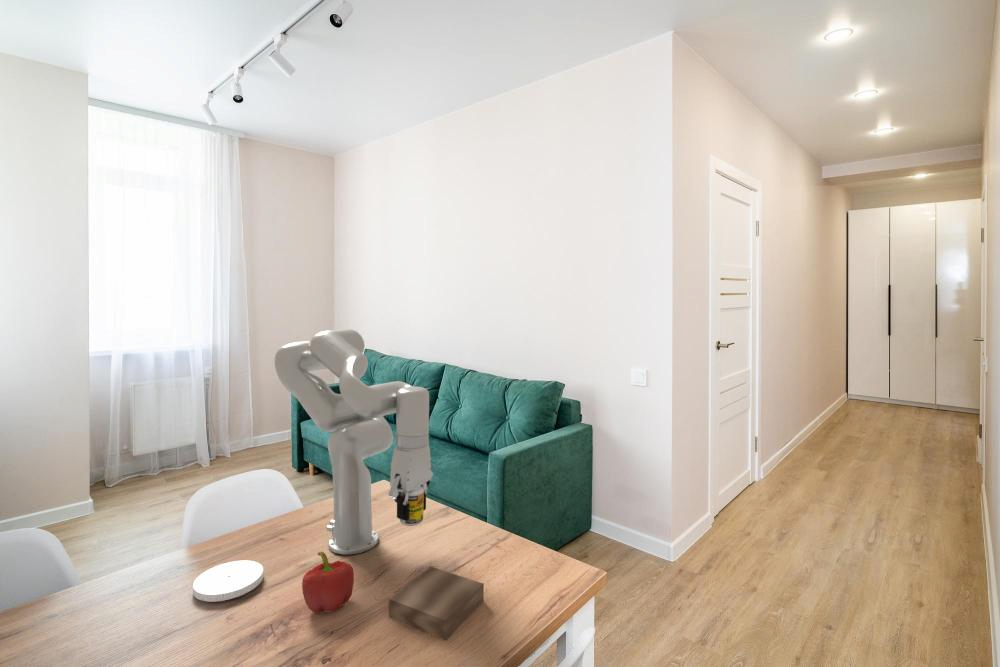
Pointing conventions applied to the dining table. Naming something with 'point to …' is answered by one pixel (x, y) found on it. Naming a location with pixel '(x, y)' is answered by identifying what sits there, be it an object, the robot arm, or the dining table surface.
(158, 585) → the dining table surface
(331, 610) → the vegetable
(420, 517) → the supplement bottle
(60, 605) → the dining table surface
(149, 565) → the dining table surface
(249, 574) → the plastic lid
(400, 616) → the walnut base
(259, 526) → the dining table surface
